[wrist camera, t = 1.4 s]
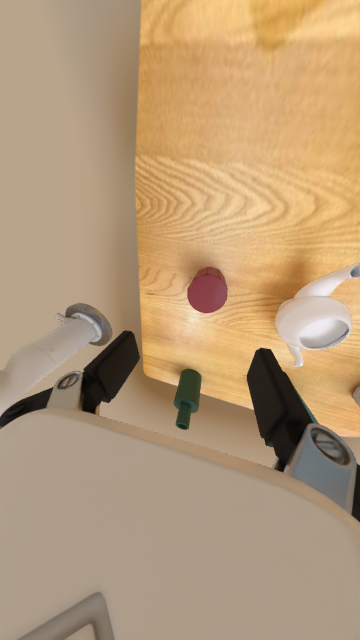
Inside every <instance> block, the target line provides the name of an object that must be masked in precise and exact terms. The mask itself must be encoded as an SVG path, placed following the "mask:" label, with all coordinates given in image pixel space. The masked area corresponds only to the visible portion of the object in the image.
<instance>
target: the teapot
mask: <svg viewBox="0 0 360 640" xmlns="http://www.w3.org/2000/svg"><path fill="white" fill-rule="evenodd" d="M355 278H360V263H356V264H353V265H350V266H347V267H344V268H342V269H339V270H336V271H334V272H331V273H329V274H326V275H324V276H321V277H319V278H317V279H315V280H313V281H311V282H310V283H308V284H306V285H305V286H304V287H302V288H301V289H300V290H299V291H298V292H297V293H296V294H295V296H294V298H293V299H289V300H287V301H285V302H283V303H282V304H281V305H280V306H279V308H278V312H277V314H276V317H275V329H276V332H277V334H278V335H279V337H280V338H281V339H282V340H283V341H284V342H285V343H286V345H287V347H288V349H289V351H290V352H291V354H292V355H293V357H294V359H295V362H289V363H288V365H290V366H295V367H301V366H303V358H302V354H301V348H302V349H307V350H323V349H328V348H331V347H334V346H336V345H338V344H340V343H341V342H343V341H344V340H345V339H346V338H347V337H348V336H349V335H350V333H351V330H352V325H353V323H352V314H351V311H350V309H349V308H348V307H347V306H346V305H345V304H344V303H342V302H340V301H338V300H336V299H334V298H331V297H329V296H330V295H331V294H332V292H333V291H334V290H335V289H336V288H337V287H338V286H339V285H340V284H341V283H343V282H344V281H346V280H348V279H355Z"/></svg>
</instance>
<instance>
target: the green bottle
mask: <svg viewBox="0 0 360 640" xmlns="http://www.w3.org/2000/svg"><path fill="white" fill-rule="evenodd" d="M200 388H201V375H200V374H199V373H198V372H196V371H194V370H190V369H187V370H184V371H183V372H182V373H181V377H180V380H179V384H178V388H177V392H176V396H175V400H174V405H175V406H176V407H177V408H178V409H179V411H178V416H177V420H176V426H177V427H178V428H180V429H183V430H187V429H189V422H190V415H191V413H194V412H196V411H198V407H199V398H200Z"/></svg>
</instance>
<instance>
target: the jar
mask: <svg viewBox="0 0 360 640" xmlns="http://www.w3.org/2000/svg"><path fill="white" fill-rule="evenodd" d="M353 398H354V400H355V402H356V403H357V404H358V405H359V406H360V386H358V387H356V389H355V390H354V392H353Z"/></svg>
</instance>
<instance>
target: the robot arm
mask: <svg viewBox="0 0 360 640" xmlns="http://www.w3.org/2000/svg"><path fill="white" fill-rule="evenodd" d="M55 318H57V319H58V320H61V321H60V322H59V324H61V325H62V326H60V327H58V328H56V329H55V330H53V331H51V332H49V333H47V334H45V335H43V336H41V337H39V338H37V339H36V340H34V341H32V342H30V343H28V344H26V345H24V346H22V347H20V348H19V349H17V350H16V351H15V352H14V353H13V354H12V355H11V356H10V358H9V359H8V361H7V363H6V366H5V368H4V370H3V371H0V640H360V465H358V464H357V463H356V458H355V456H354V454H353V452H352V450H351V449H350V448H349V446H348V445H347V444H346V443H345V442H344V441H343V440H342V439H341V437H339V436H338V435H337V434H336V433H334V432H333V431H332V430H330V429H328V428H327V427H325V426H323V425H320V424H316V423H314V422H313V420H312V419H311V417H310V415H309V413H308V411H307V410H306V408H305V406H304V404H303V402H302V401H301V399H300V397H299V395H298V394H297V392H296V390H295V388H294V386H293V385H292V383H291V381H290V379H289V377H288V376H287V374H286V373H285V372H284V371H282V369H281V367H280V365H279V364H278V362H277V360H276V358H275V356H274V354H273V352H272V351H271V349H266V348H260V349H259V350H256V352H255V355H254V357H253V360H252V363H251V366H250V368H249V371H248V374H247V382H248V386H249V390H250V394H251V399H252V403H253V407H254V411H255V415H256V419H257V424H258V428H259V432H260V435H261V437H262V438H264V440H265V444H266V446H270V447H274V451H275V454H276V456H277V458H276V460H275V462H274V464H273V466H272V468H269V467H266V466H263V465H260V464H257V463H254V462H251V461H248V460H245V459H241V458H239V457H235V456H233V455H229V454H226V453H223V452H219V451H216V450H213V449H210V448H206V447H203V446H200V445H196V444H193V443H190V442H186V441H183V440H180V439H176V438H173V437H170V436H166V435H163V434H160V433H156V432H153V431H150V430H146V429H143V428H140V427H136V426H133V425H129V424H126V423H123V422H119V421H116V420H112V419H108V418H106V417H102V416H99V406H100V403H101V401H103V402H107V403H109V402H110V401H111V399H113V398H114V397H115V396H116V394H117V393H118V391H119V390H120V388H121V387H122V385H123V384H124V382H125V381H126V379H127V378H128V376H129V375H130V373H131V372H132V370H133V369H134V367H135V366H136V364H137V363H138V361H139V359H140V356H139V352H138V348H137V344H136V340H135V336H134V334H133V333H132V332H131V331H123V332H122V333H121V334H120V335H119V336H118V337H117V338H116V339H115V340H114V341H113V342H112V343H111V344H109V346H107V347H106V348H105V349H104V350H103V351H102V352H101V353H100V354H99V355H98V356H97V357H96V358H95V359H94V360H93V361H92V362H91V363H89V364H88V365H87V366H86V367H85V368H84V369H83V370H84V372H83V373H82V372H80V371H73V372H70V373H67V374H66V375H64V376H63V377H61V378H60V379H59V380H58V381H57V382H56V384H55V385H54V387H52V388H50V389H47V390H45V391H42V392H40V393H37V394H35V395H32V396H30V397H27V398H25V399H22V400H20V401H18V400H19V399H21V398H22V397H23V396H24V395H25V394H26V393H27V392H28V391H29V390H30V389H31V388H32V387H33V386H34V385H36V384H37V383H38V382H39V381H41V380H42V379H43V378H44V377H45V376H47V375H48V374H49V373H51V372H52V371H53V370H54V369H56V368H57V367H58V366H59V365H61V364H62V363H63V362H65V361H66V360H67V359H69V358H70V357H71V356H72V355H74V354H75V353H76V352H78V351H79V350H80V349H81V348H83V347H84V346H85V345H87V344H88V343H89V342H97V341H99V340H100V339H101V338H102V330H101V328H100V326H99V324H98V323H97V322H96V321H95V320H94V319H93V318H92V317H90V316H89V315H87V314H84V313H75V314H73V315H72V316H71V317H70V318H69V317H64V316H63V315H61V314H60V313H58V314H56V315H55Z"/></svg>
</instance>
